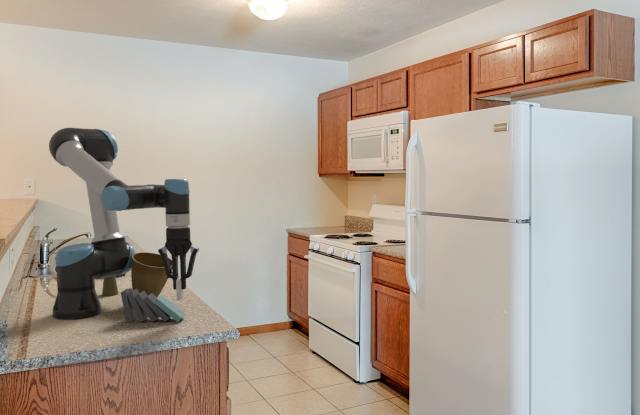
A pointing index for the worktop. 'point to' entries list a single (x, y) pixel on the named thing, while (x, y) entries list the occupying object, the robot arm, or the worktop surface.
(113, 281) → the cork
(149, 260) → the plant pot
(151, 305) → the domino
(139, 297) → the domino
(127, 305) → the domino
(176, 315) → the domino
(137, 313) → the domino
